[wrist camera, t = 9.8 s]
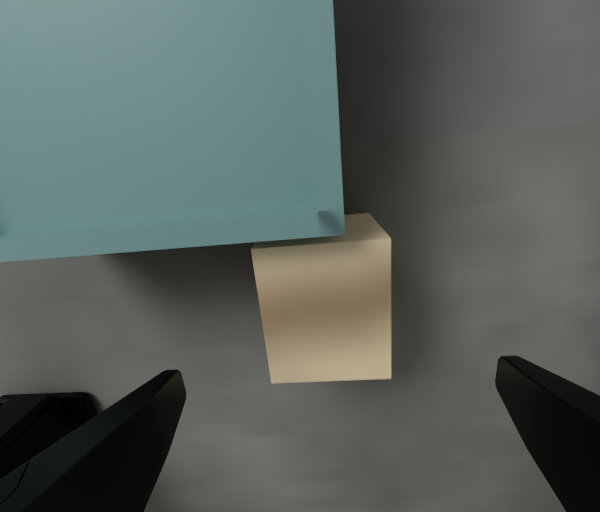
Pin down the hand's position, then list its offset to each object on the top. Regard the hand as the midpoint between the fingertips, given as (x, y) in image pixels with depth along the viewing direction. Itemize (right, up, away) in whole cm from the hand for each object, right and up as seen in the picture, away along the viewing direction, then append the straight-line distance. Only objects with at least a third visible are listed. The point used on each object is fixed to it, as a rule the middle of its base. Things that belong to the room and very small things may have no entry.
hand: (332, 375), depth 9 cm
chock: (0, +3, +8) cm, 8 cm away
